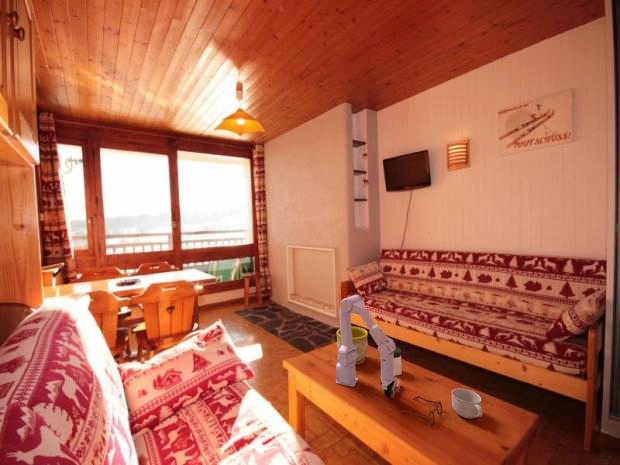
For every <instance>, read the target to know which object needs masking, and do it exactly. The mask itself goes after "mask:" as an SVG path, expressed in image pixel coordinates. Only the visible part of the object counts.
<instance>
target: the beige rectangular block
mask: <svg viewBox="0 0 620 465" xmlns="http://www.w3.org/2000/svg"><path fill="white" fill-rule="evenodd" d="M396 383H397V381H395V382H394V385H393V387H392V392H391V397H390V398H389V399H394V398H395V395H396Z"/></svg>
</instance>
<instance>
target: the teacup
mask: <svg viewBox="0 0 620 465" xmlns="http://www.w3.org/2000/svg"><path fill="white" fill-rule="evenodd" d="M451 405H452V409H453V410H454V411H455V412H456V414H458V415H459V416H460V417H463V418H465V419H472V420H473V419H476V418H481V417H482V416H483V415H484V414H483V413H484V412H483V409H482V397H481V396H480V395H479V394H478V393H476V391H473V390H470V389H466V388H460V387H459V388H454V389H452V390H451Z"/></svg>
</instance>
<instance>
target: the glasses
mask: <svg viewBox="0 0 620 465" xmlns="http://www.w3.org/2000/svg"><path fill="white" fill-rule="evenodd" d="M417 399H420V400H422V401H425V402H427V403H432V404H436V405H435V408H434V409H433V410H429V412H428V415H427V416H425V415H421V414H419V413H413V412H412V411H409V410H408V409H404V410H401V411H399V412H398V413H399V414H404V413H408V414H410V415H412V416H414V417H418V418H422V419H427V420H428V424H429V425H430V426H432V425H434V424H435V412H436V413H437V414H438V415H441V414H442V411H443V405H442V402H441V401H440V400H437V401H436V400H435V401H434V400H429V399H426V398H424V397H422V396H419V395H417V396H415V397H414V398H412V401H413V400H417ZM439 406H440V411H439ZM431 414H432V421H431V417H430V416H431Z"/></svg>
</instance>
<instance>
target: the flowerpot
mask: <svg viewBox="0 0 620 465" xmlns="http://www.w3.org/2000/svg"><path fill="white" fill-rule="evenodd" d="M351 330H352V342H353V345H354V346H355V347H356V351H357V353H358V359H357V360H356V363H355V366H357V365H360V364H362V363H363V362H365V360H366V356H367V354H368V349H369V342H368V335H369V331H368V330H366V329H365V328H364V327H363V328H362V327H359V326H351ZM336 340H337V342H336V348H337V351H339V349H340V347H341V345H342V342H341V329H340V328H339V329H337V331H336Z"/></svg>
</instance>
